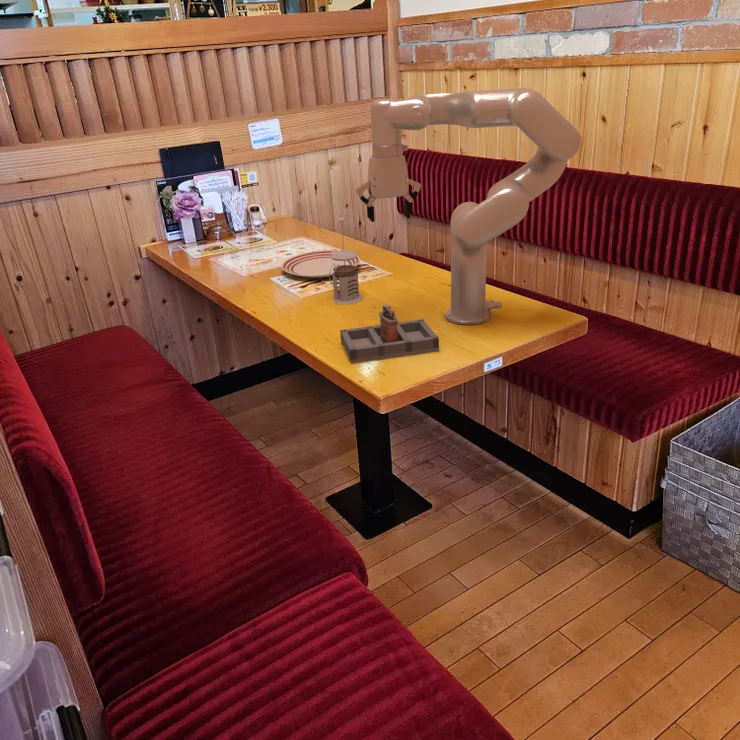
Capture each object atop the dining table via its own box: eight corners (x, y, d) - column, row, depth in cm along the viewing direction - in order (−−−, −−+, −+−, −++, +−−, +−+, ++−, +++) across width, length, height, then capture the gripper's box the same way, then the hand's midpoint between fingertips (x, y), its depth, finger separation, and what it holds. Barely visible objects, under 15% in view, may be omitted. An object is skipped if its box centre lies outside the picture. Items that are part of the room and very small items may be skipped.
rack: (423, 331, 180) (423, 319, 178) (438, 351, 168) (438, 338, 167) (341, 342, 176) (340, 330, 174) (351, 363, 164) (350, 350, 163)
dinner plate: (325, 288, 217) (325, 278, 215) (265, 275, 232) (264, 266, 231) (376, 265, 236) (376, 256, 235) (318, 255, 251) (317, 246, 250)
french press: (369, 296, 207) (364, 215, 196) (346, 308, 198) (341, 224, 187) (343, 291, 212) (338, 212, 201) (320, 303, 204) (313, 221, 193)
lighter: (377, 338, 174) (376, 302, 170) (389, 336, 175) (388, 300, 171) (389, 350, 168) (387, 313, 163) (401, 347, 169) (400, 310, 164)
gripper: (415, 146, 174) (417, 212, 182) (350, 152, 171) (354, 219, 179) (424, 150, 168) (425, 218, 175) (357, 156, 165) (360, 225, 172)
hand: (389, 218), depth 177 cm, fingers open, 9 cm apart
